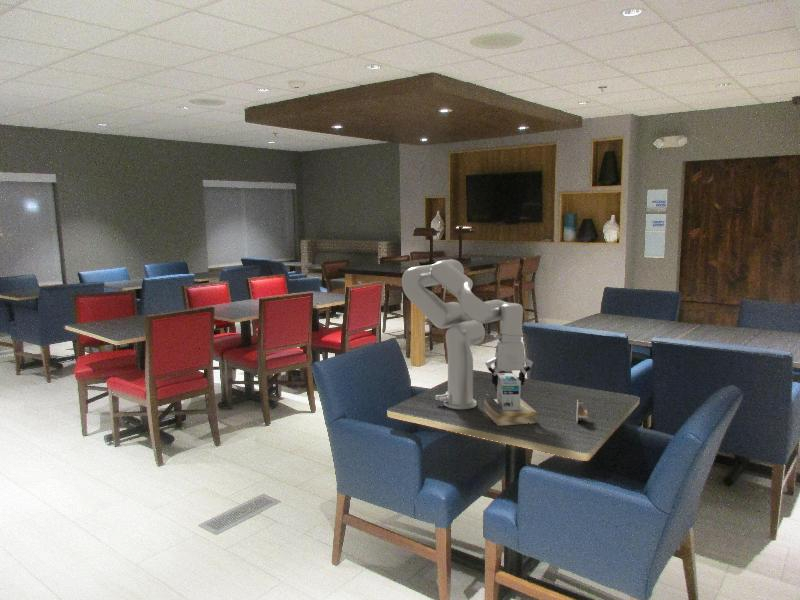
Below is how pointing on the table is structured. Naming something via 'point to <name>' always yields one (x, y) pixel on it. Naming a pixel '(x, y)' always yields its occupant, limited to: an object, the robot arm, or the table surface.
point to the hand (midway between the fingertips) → (508, 384)
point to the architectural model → (580, 412)
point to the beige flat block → (509, 413)
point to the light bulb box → (508, 391)
